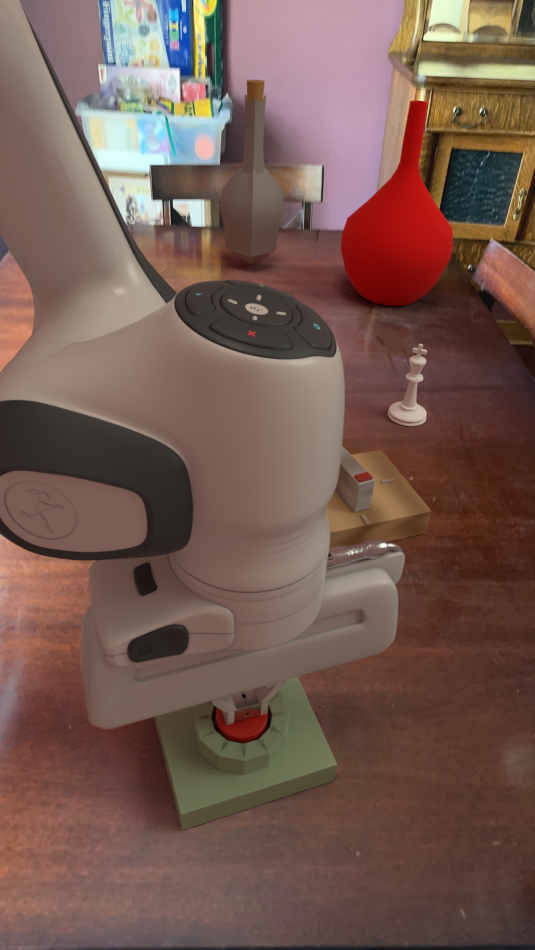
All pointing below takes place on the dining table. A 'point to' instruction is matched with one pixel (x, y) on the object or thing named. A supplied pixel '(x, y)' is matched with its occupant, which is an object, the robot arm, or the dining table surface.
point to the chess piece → (411, 394)
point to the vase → (398, 231)
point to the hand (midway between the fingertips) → (243, 711)
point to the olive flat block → (242, 758)
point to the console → (378, 507)
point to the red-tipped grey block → (354, 483)
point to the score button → (241, 728)
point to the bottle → (252, 190)
